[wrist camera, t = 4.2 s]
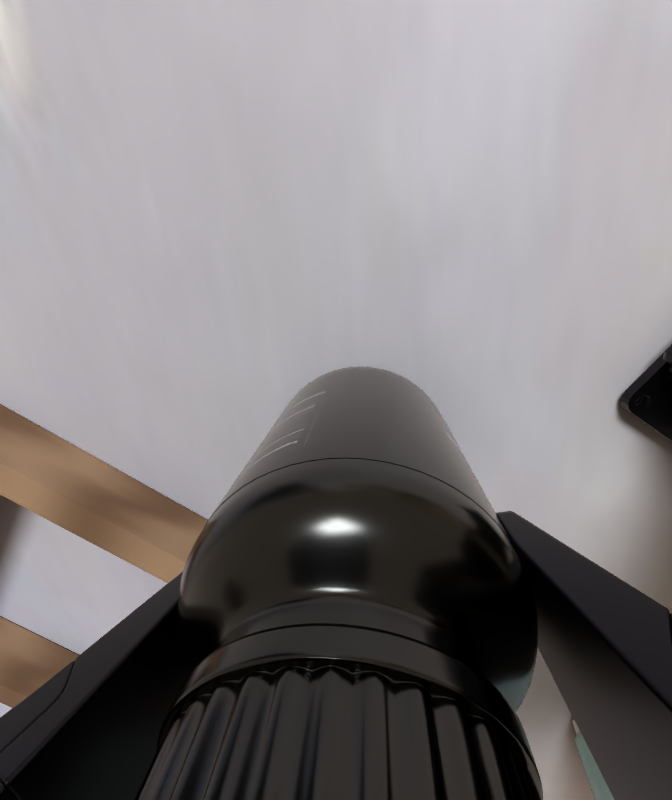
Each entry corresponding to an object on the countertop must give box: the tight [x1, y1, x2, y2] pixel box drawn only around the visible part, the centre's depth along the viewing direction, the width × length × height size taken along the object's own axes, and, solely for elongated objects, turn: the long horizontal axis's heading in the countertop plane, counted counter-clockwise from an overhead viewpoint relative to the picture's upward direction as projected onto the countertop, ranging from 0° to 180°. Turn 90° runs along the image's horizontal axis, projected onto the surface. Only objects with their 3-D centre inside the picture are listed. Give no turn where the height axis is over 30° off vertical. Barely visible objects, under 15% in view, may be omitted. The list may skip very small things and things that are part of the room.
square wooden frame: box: [0, 404, 208, 708], centre depth 17 cm, size 15×15×2 cm
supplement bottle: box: [135, 367, 543, 800], centre depth 9 cm, size 7×7×12 cm
